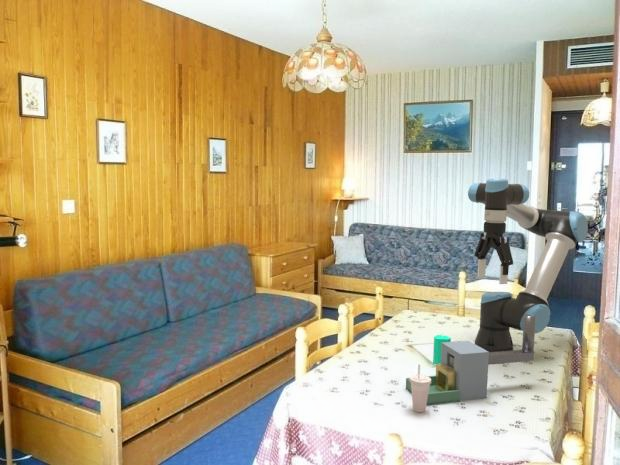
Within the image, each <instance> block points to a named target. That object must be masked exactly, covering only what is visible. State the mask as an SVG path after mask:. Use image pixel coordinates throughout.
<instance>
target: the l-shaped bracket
mask: <svg viewBox="0 0 620 465" xmlns="http://www.w3.org/2000/svg"><path fill="white" fill-rule="evenodd" d="M535 320H536V316H534V315H524V326H523V331H522V346H521V349H516V350H515V349H513V351H500V352H489V361H488V366H489V365H501V364H511V363H512V364H513V363H523V362H535V350H534V349H535V348H534V347H535V335H536V333H535ZM449 365H450V366H452V367H453V368H454V356H453V355H451V356H449Z"/></svg>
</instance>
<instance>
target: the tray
mask: <svg viewBox="0 0 620 465" xmlns="http://www.w3.org/2000/svg"><path fill="white" fill-rule="evenodd" d="M427 376H428V377H430V378H431V384H430V387H429V393H428V399H427V405H426V406H433V405H441V404H450V403H459V402H461V400H460V390H453V391H443V392H440V391H439V390H438V389H437V388H435V379H436V375H427ZM405 389H406V390H407V391H408V392H409V393H411V394H412V391H411V382H410V377H406V378H405Z"/></svg>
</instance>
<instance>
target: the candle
mask: <svg viewBox="0 0 620 465" xmlns="http://www.w3.org/2000/svg"><path fill="white" fill-rule="evenodd" d="M443 334H444V333H443V332H442V334H441V335H440V334H437V335H434V336H433V352H432V354H433V355H432V356H433V357H432V359H433V360H432V361H433V362H432V364H433V363H434V364H441V345H442V343H443V342H452V341H451V340H452V339H451V337H449V336H448V335H443ZM434 364H433V365H434Z"/></svg>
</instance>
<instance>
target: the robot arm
mask: <svg viewBox="0 0 620 465" xmlns="http://www.w3.org/2000/svg"><path fill="white" fill-rule="evenodd" d="M467 196H468V199H469V200H470V201H471V202H473V203H477V204H483V205H484V213H483V214H484V215H483V217H484V218H483V219H484V223H483V232H481V233H480V235H479V240H478V244H477V245H476V246H477V247H476V249H475V251H474V257H476V259H477V277H478V278H485V277H486V266H487V265H486V264H487V263H486V262H487V259H486V258H487V257H486V256H487V255H488V254H489V252H490V250H491V249H494V250H495V251H496V253H497V256H498V258H499V261H500V264H499V278H498V279H499V280H498V281H499V282H498V283H499V284H498V285H507V284H508V276H509V268H510V266H511V265H514V260H513V255H512V251H511V247H510V240H509V237H508V236H503V235H504V234H505V233H506V232H507V231H506V230H507V223H506V222H507V218H509V219H511V220H513V221H515V222H516V223H517V224H518V226H520V227H521V228H523V229H524V230H526V231H528V232H530V233H533V234H535V235H537V236H539V237H543V238H545V240H546V243H545V245H544V248H543V250H542V252H541V254H540V257H539V259H538V260H537V263H536V265H535V268H534V269H533V271H532V274H531V276H530V278H529V280H528V283H527V284H526V286H525V289H524V290H522V291H519V292H518V294H517V296H516V297H515V298H513V295H512V293H511V292H508V291H489V292H485V293H483V294H482V295H481V297H480V298H481V299H480V302H479V303H480V313H479V316H480V318H479V329H478V331H477V334H476V337H475V339H474V344H475V345H477V346H479V347H481V348H483V349H485V350H486V351H488V352H500V351H513V350H514V342H513V339H512V334H511V331H510V330H511V329H515V330H518V331H521V332H523V326H524V315H534V316H536V320H535V334H539V333H541V332H543V331H544V330H545V329H546V328H547V326H548V324H549V322H550V320H551V310H550V307H549V306H550V304H549V303H548V300H547V299H548V297H549V295H550V292H551V291H552V288H553V286H554V284H555V282H556V279H557V277H558V275H559V272H560V270H561V268H562V266H563V264H564V262H565V259H566V257H567V256H568V252H569V250H573V249H574V248H575V247H576V245H577V243H578V242H579V243H580V242H583V241H585V239H586V238H587V235H588V232H589V230H588V229H589V226H588V225H589V224H588V220H587V217H586V216H585V215H584V213H582V212H580V211H573V210H570V211H567V210H555V209H554V210H552V209H543V208H541V209H539V208H536V207H534V206H532V205H531V206H530V205H529V206H527V205H526V204H525V203H527V201H528V200H529V198H530V191H529V188H528V187H527V186H526V185H524V184H520V183H509V180H508V179H507V178H487V179H486V182H483V183H482V182H478V183H477V182H476V183H472V184H471V185H470V186H469V187H468V191H467Z"/></svg>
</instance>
